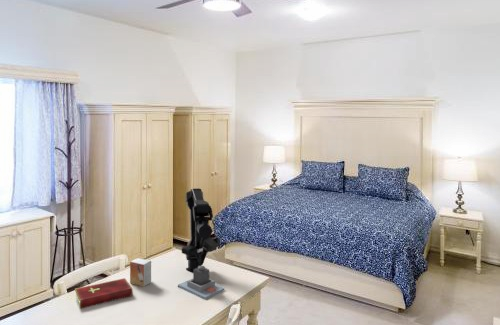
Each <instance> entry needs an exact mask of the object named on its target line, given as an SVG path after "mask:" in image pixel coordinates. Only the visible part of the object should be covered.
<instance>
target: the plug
mask: <svg viewBox="0 0 500 325" xmlns="http://www.w3.org/2000/svg"><path fill="white" fill-rule="evenodd" d="M192 274H193V276H192V277H193V278H192V279H193V283H195V284H198V285H200V286H202V285H204V284H206V283H209V279H210V268H207V267H205V265H201V266H198V268H196V269H193V272H192Z"/></svg>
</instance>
